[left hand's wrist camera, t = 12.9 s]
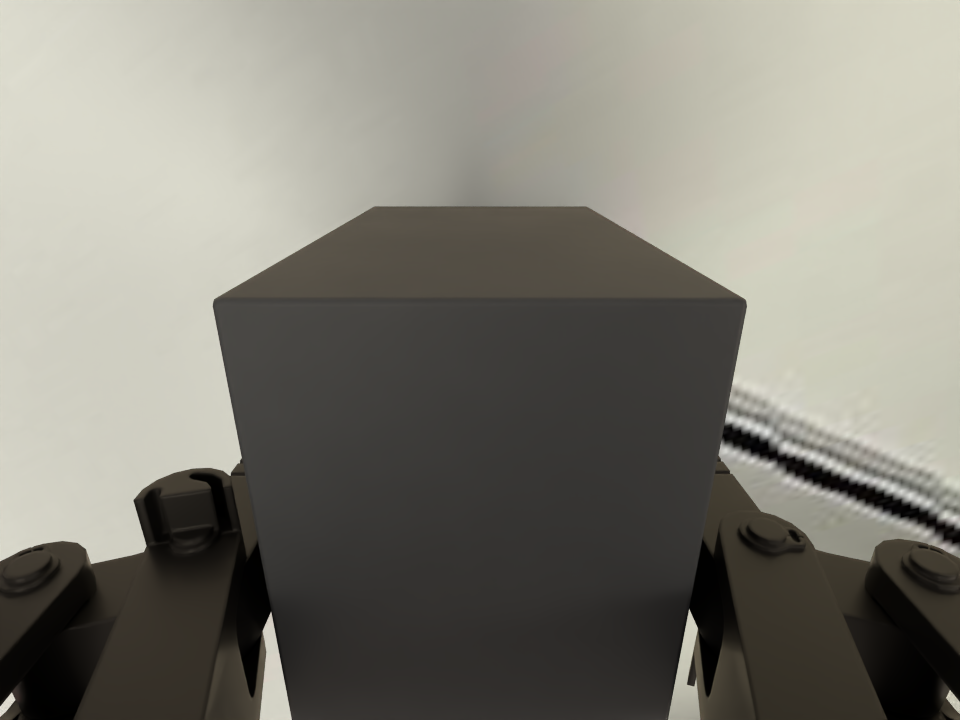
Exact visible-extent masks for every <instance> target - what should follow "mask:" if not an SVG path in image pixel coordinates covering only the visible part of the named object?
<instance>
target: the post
mask: <svg viewBox="0 0 960 720" xmlns="http://www.w3.org/2000/svg"><path fill="white" fill-rule="evenodd" d="M746 308H747V304H746V300H745V299H744V298H742V297H740V296H739V295H737V294H735V293H733V292H732V291H730V290H728V289H727V288H725V287H723V286H721V285H720V284H718V283H716V282H715V281H713V280H711V279H709V278H708V277H706V276H704V275H703V274H701V273H699V272H697V271H696V270H694V269H692V268H691V267H689V266H687V265H686V264H684V263H682V262H680V261H679V260H677V259H675V258H674V257H672V256H670V255H668V254H667V253H665V252H663V251H662V250H660V249H658V248H656V247H655V246H653V245H651V244H650V243H648V242H646V241H644V240H643V239H641V238H639V237H638V236H636V235H634V234H633V233H631V232H629V231H627V230H626V229H624V228H622V227H621V226H619V225H617V224H615V223H614V222H612V221H610V220H609V219H607V218H605V217H603V216H602V215H600V214H598V213H597V212H595V211H593V210H592V209H590V208H588V207H373V208H371V209H369V210H368V211H366V212H364V213H363V214H361V215H359V216H357V217H356V218H354V219H352V220H350V221H349V222H347V223H345V224H344V225H342V226H340V227H338V228H337V229H335V230H333V231H331V232H330V233H328V234H326V235H325V236H323V237H321V238H319V239H318V240H316V241H314V242H312V243H311V244H309V245H307V246H306V247H304V248H302V249H300V250H299V251H297V252H295V253H293V254H292V255H290V256H288V257H287V258H285V259H283V260H281V261H280V262H278V263H276V264H274V265H273V266H271V267H269V268H268V269H266V270H264V271H262V272H261V273H259V274H257V275H255V276H254V277H252V278H250V279H249V280H247V281H245V282H243V283H242V284H240V285H238V286H236V287H235V288H233V289H231V290H229V291H228V292H226V293H224V294H223V295H221V296H219V297H217V298H216V299H214V302H213V309H214V314H215V320H216V325H217V330H218V335H219V340H220V346H221V351H222V356H223V361H224V367H225V372H226V377H227V382H228V388H229V393H230V398H231V403H232V408H233V414H234V419H235V424H236V429H237V435H238V440H239V445H240V450H241V455H242V461H243V466H244V471H245V476H246V482H247V487H248V492H249V497H250V502H251V508H252V513H253V518H254V523H255V529H256V534H257V539H258V544H259V549H260V555H261V560H262V565H263V570H264V576H265V581H266V586H267V591H268V596H269V602H270V607H271V612H272V617H273V623H274V628H275V633H276V638H277V643H278V649H279V654H280V659H281V664H282V670H283V675H284V680H285V685H286V690H287V696H288V701H289V706H290V711H291V717H292V720H668V716H669V711H670V705H671V700H672V695H673V690H674V684H675V679H676V674H677V669H678V664H679V658H680V653H681V648H682V643H683V637H684V632H685V627H686V622H687V616H688V611H689V606H690V601H691V596H692V590H693V585H694V580H695V575H696V569H697V564H698V559H699V554H700V549H701V543H702V538H703V533H704V528H705V522H706V517H707V512H708V507H709V501H710V496H711V491H712V486H713V481H714V475H715V470H716V465H717V460H718V454H719V449H720V444H721V439H722V433H723V428H724V423H725V418H726V413H727V407H728V402H729V397H730V392H731V386H732V381H733V376H734V371H735V366H736V360H737V355H738V350H739V345H740V339H741V334H742V329H743V324H744V318H745V313H746Z"/></svg>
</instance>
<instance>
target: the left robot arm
mask: <svg viewBox="0 0 960 720" xmlns="http://www.w3.org/2000/svg"><path fill="white" fill-rule="evenodd" d="M134 504H135V507H136V511H137V514H138V517H139V521H140V524H141V528H142V531H143V535H144V538H145V541H146V545H147V547H146V549H145V551H144V552H143V553H139V554H136V555H132V556H127V557H123V558H118V559H113V560H109V561H104V562H99V563H94V564H91V563H90V560H89V557H88V554H87V551H86V549H85V548H83V547H82V546H81V545H79V544H78V543H73V542H65V541H61V542H53V543H46V544H41V545H37V546H34V547H32V548H31V547H30V548H28V549H25V550H22V551H20V552H18V553H16V554H14V555H12V556H10V557H8V558H6V559H4V560H2V561H0V706H1V705H2V703H3V702H4V701H5V700H6V699H7V697H8V696H9V695H10V694H11V692H12V693H13V695H14V697H15V701H14V703H13V704H12V705H11V706H10V708H9V709H8V710H7V711H6V712H5V713H4V714H3V715H2V716H1V717H0V720H259V719H260V709H261V699H262V689H263V679H264V669H265V659H266V647H265V641H264V636H263V628H264V626H265V624H266V622H267V619H268V617H269V615H270V613H271V607H270V602H269V596H268V591H267V586H266V581H265V576H264V570H263V565H262V560H261V555H260V549H259V544H258V539H257V534H256V529H255V523H254V518H253V513H252V508H251V502H250V497H249V492H248V487H247V482H246V476H245V471H244V466H243V461H242V459H241V460H240V464H237V466H236V467H235V468H234V469H233V471H232V472H231V476H229V475H228V474H226V473H225V472H224V471H221V470H217V469H212V468H198V469H190V470H185V471H181V472H176V473H173V474H171V475H168V476H166V477H164V478H161V479H159V480H157V481H155V482H153V483H152V484H150V485H149V486H147V487H146V488H144V489H143V490H142V491H141V492H140V493H139V494H138V496H137V497H136V498H135V499H134ZM689 609H690V611H691V614H692V616H693V618H694V620H695V622H696V625H697V627H698V631H697V636H696V641H695V646H694V651H693V656H692V661H691V665H690V670H689V676H688V682H687V685H691V686H694V685H695V680H696V678H697V688H698V698H699V708H700V718H701V720H960V714H959V713H958V712H957V711H956V710H955V709H954V708H953V706H952V705H951V704H950V703H949V701H948V700H947V699H946V697H947V695H948V692H949V690H951V691H952V693H953V694H954V695H955V696H956V698H957V699H958V700H959V701H960V558H958V557H956V556H954V555H952V554H950V553H948V552H946V551H944V550H942V549H940V548H937V547H935V546H932V545H931V546H930V545H928V544H925V543H921V542H917V541H910V540H903V539H894V540H887V541H883V542H882V543H880V544H879V545H878V546H876V547H875V550H874V553H873V556H872V559H871V562H867V561H863V560H858V559H853V558H848V557H844V556H839V555H834V554H830V553H826V552H822V551H818V550H815V548H814V546H813V544H812V543H811V541H810V540H809V538H808V537H807V536H806V534H805V533H803V532H802V531H801V530H800V529H798V528H797V527H796V526H794V525H793V524H792V523H790V522H787V521H785V520H783V519H781V518H779V517H777V516H775V515H771V514H767V513H763V512H761V511H760V510H759V509H758V507H757V506H756V505H755V503H754V502H753V501H752V499H751V498H750V497H749V495H748V494H747V493H746V491H745V490H744V489H743V488H742V486H741V485H740V484H739V482H738V481H737V480H736V478H735V477H734V476H733V474H730V470H729V469H728V468H727V467H726V465H725V464H724V463H723V462H721V459H720V457H719V456H718V460H717V465H716V470H715V475H714V481H713V486H712V491H711V496H710V501H709V507H708V512H707V517H706V522H705V528H704V533H703V538H702V543H701V549H700V554H699V559H698V564H697V569H696V575H695V580H694V585H693V590H692V596H691V601H690V606H689Z"/></svg>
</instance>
